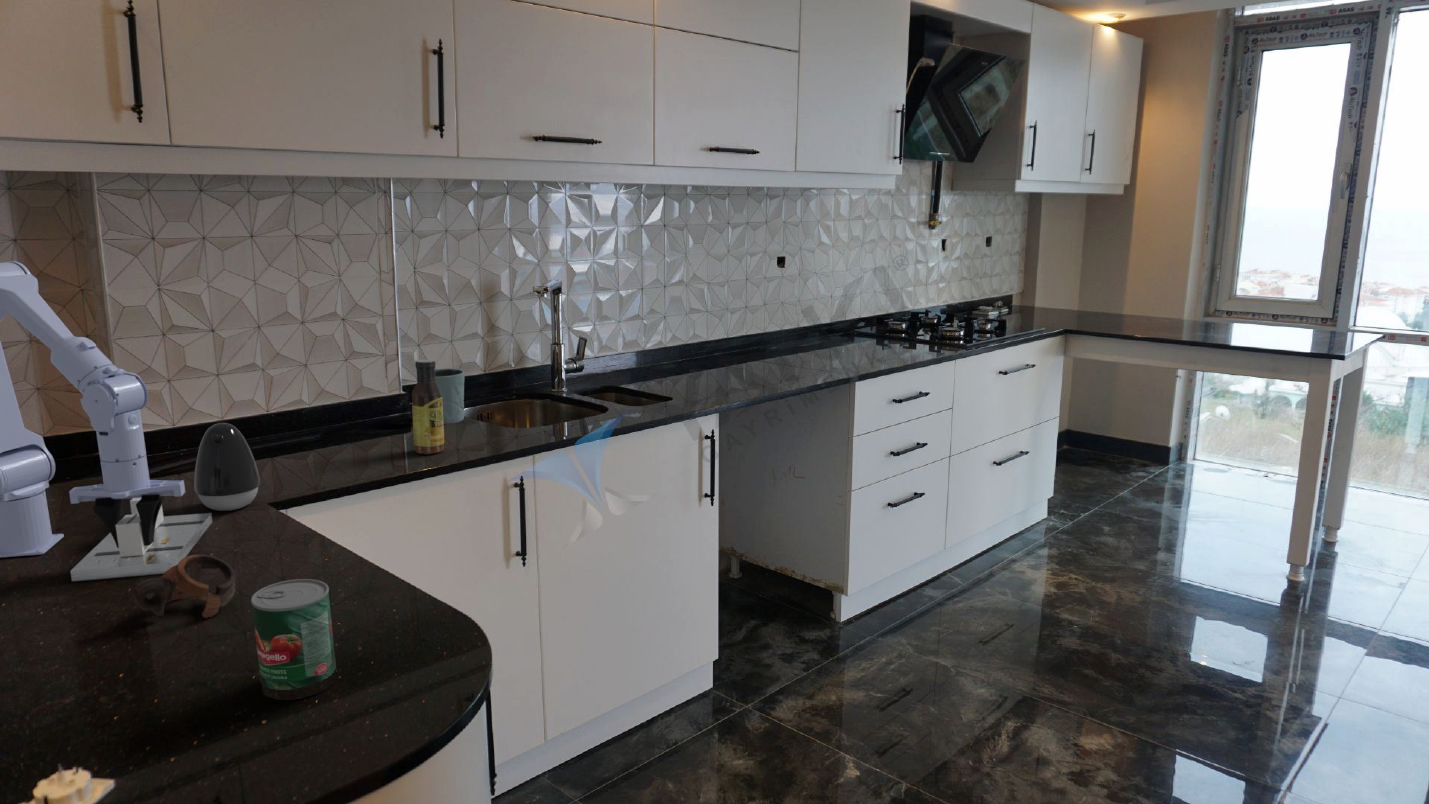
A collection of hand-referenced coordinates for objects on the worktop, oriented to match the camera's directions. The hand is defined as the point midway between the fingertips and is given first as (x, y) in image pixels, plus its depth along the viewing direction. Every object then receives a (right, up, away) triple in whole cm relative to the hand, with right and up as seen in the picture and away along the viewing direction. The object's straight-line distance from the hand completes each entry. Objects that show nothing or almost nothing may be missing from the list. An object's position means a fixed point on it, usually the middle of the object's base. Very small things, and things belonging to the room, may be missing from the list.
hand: (135, 544), depth 138 cm
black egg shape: (+1, +3, +25) cm, 25 cm away
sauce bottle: (+25, +10, +61) cm, 67 cm away
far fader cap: (-5, +1, +11) cm, 12 cm away
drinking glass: (+21, +17, +89) cm, 92 cm away
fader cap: (0, -1, 0) cm, 1 cm away
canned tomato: (+40, -11, -33) cm, 53 cm away
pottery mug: (+17, -7, -16) cm, 24 cm away
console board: (-1, -2, +5) cm, 6 cm away
